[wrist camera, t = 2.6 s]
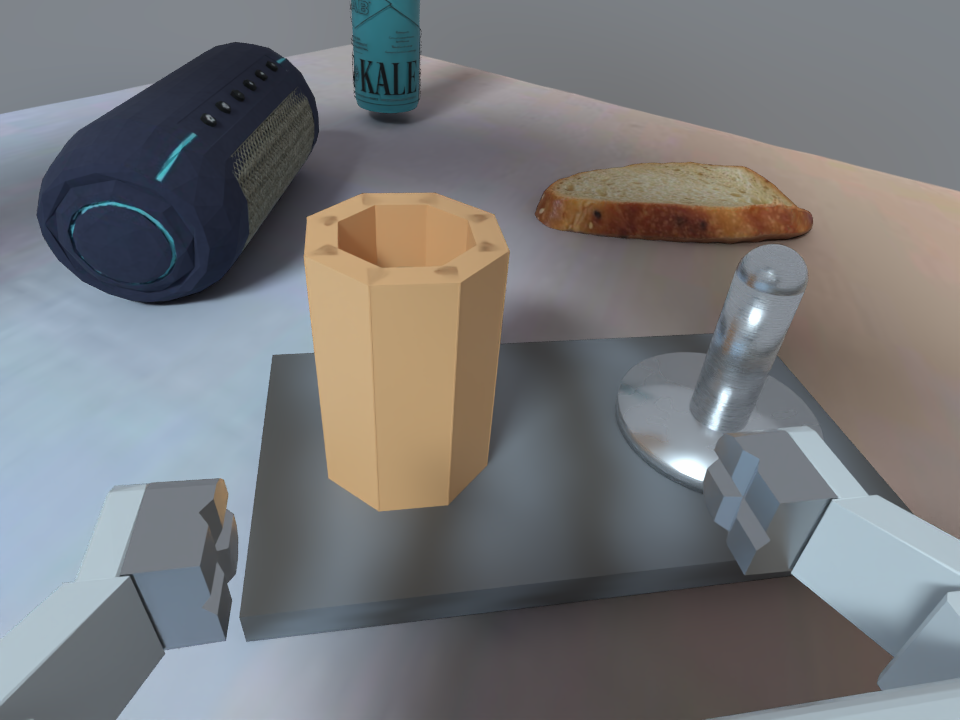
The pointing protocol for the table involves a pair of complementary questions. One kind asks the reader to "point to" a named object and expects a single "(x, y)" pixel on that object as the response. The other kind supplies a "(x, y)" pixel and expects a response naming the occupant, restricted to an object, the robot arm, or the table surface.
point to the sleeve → (405, 342)
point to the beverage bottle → (386, 54)
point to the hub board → (540, 477)
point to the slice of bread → (673, 204)
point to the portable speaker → (179, 174)
